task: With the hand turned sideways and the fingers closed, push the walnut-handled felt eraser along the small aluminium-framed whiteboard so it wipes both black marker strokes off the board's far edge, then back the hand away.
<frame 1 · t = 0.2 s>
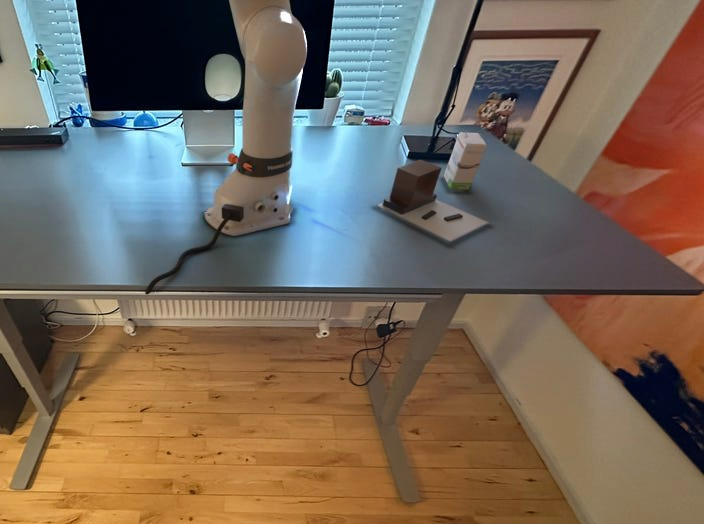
ink box: (454, 186, 109), on the table
marker stroke b: (452, 218, 95), point 1 cm above the table, touching whiteboard
marker stroke a: (428, 216, 96), point 1 cm above the table, touching whiteboard
eraser: (408, 203, 101), point 1 cm above the table, touching whiteboard
whiteboard: (429, 217, 98), on the table
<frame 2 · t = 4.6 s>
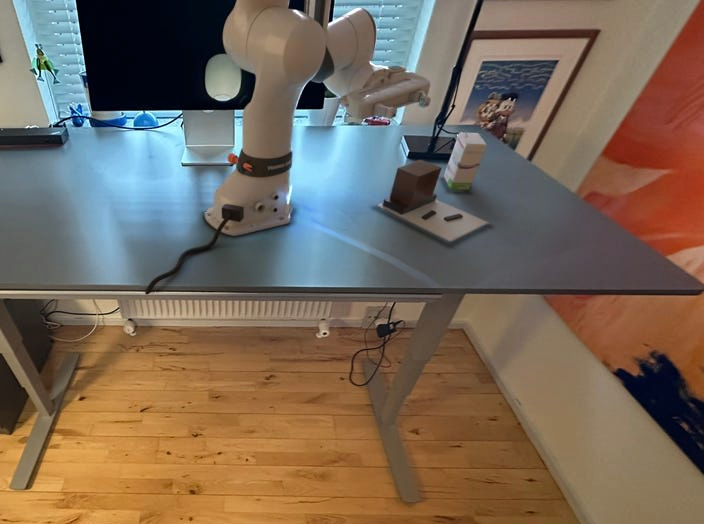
hand: (411, 108, 91), 20 cm above the table, tool horizontal, fingers open, 8 cm apart
nothing on the table moved.
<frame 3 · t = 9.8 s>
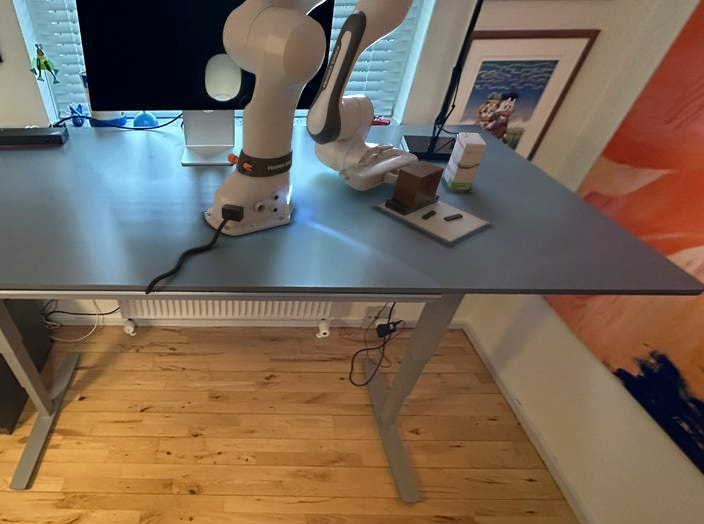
hand: (406, 181, 99), 6 cm above the table, tool horizontal, fingers closed, pressing on eraser
eraser: (411, 204, 101), point 1 cm above the table, touching gripper, whiteboard
everything else where it was.
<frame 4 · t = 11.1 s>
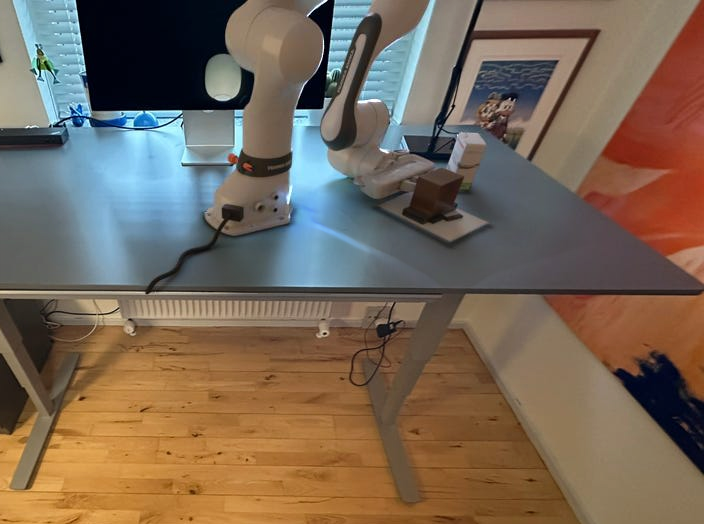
hand: (424, 189, 96), 6 cm above the table, tool horizontal, fingers closed, pressing on eraser
marker stroke b: (453, 218, 95), point 1 cm above the table, touching marker stroke a, whiteboard
marker stroke a: (437, 220, 95), point 1 cm above the table, touching eraser, marker stroke b, whiteboard
eraser: (428, 212, 98), point 1 cm above the table, touching gripper, marker stroke a
everything else where it was.
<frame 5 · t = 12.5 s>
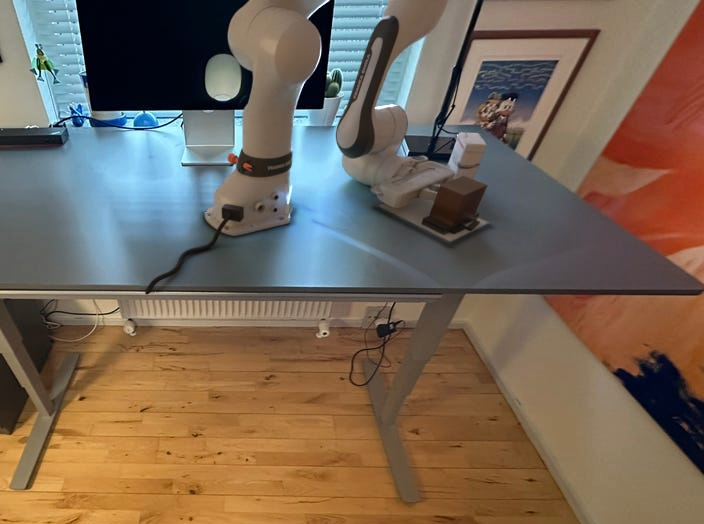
hand: (444, 197, 93), 6 cm above the table, tool horizontal, fingers closed
marker stroke b: (472, 226, 93), point 1 cm above the table, touching marker stroke a
marker stroke a: (458, 230, 92), point 1 cm above the table, touching marker stroke b
eraser: (449, 221, 94), point 1 cm above the table, touching gripper, whiteboard
everything else where it was.
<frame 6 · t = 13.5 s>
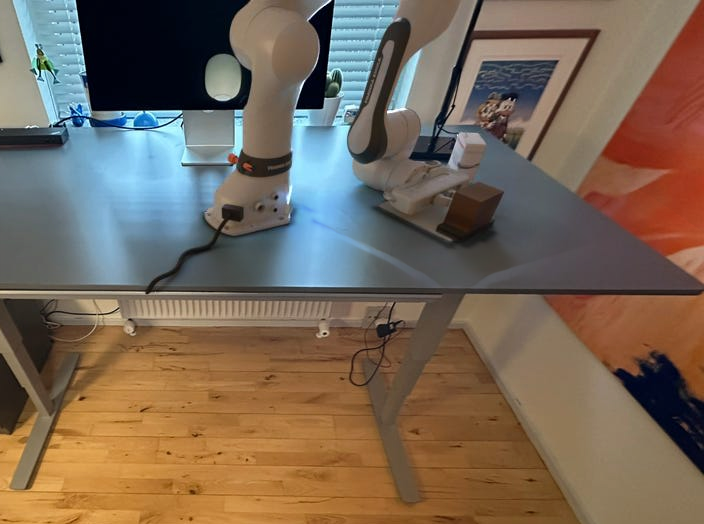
hand: (459, 204, 91), 6 cm above the table, tool horizontal, fingers closed
marker stroke b: (485, 233, 91), on the table, tilted 180°
marker stroke a: (470, 239, 90), on the table, tilted 180°
eraser: (463, 228, 92), point 1 cm above the table
everything else where it was.
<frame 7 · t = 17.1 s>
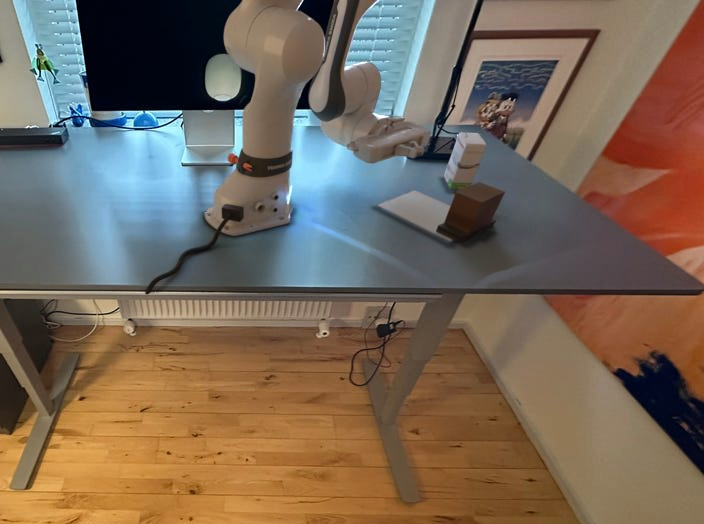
hand: (419, 153, 93), 12 cm above the table, tool horizontal, fingers closed
eraser: (464, 228, 92), point 1 cm above the table, touching whiteboard
everything else where it was.
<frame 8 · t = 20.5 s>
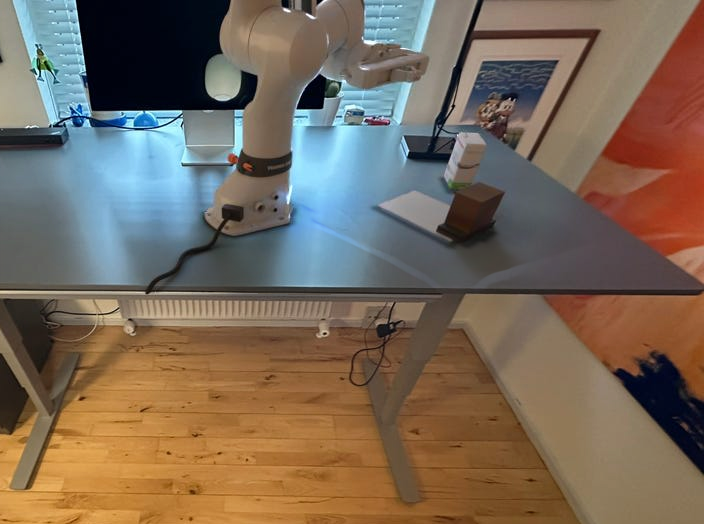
hand: (416, 77, 87), 26 cm above the table, tool horizontal, fingers closed
nothing on the table moved.
at the end: marker stroke a on the table; marker stroke b point 0.5 cm above the table; eraser tilted 0° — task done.
